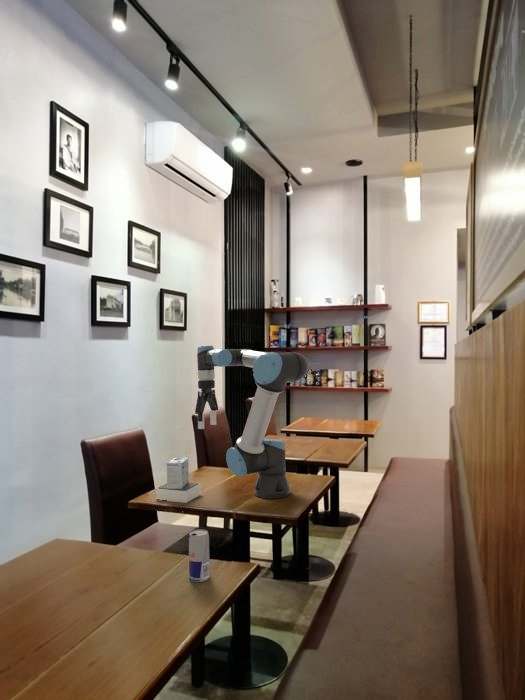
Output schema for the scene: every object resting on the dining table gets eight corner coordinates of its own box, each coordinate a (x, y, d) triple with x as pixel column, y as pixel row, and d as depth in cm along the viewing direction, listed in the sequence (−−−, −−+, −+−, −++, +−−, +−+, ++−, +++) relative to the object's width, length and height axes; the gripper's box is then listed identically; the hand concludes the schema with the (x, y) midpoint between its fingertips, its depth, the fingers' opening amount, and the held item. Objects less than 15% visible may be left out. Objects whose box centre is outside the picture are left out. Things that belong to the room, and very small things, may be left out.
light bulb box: (174, 482, 215) (173, 457, 216) (189, 482, 215) (188, 457, 215) (166, 488, 205) (166, 462, 205) (182, 489, 204) (182, 462, 204)
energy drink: (187, 576, 134) (186, 531, 134) (206, 572, 136) (205, 528, 136) (192, 584, 129) (191, 537, 129) (212, 580, 131) (211, 534, 131)
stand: (200, 494, 213) (200, 483, 213) (186, 502, 202) (186, 490, 202) (171, 492, 218) (171, 480, 218) (156, 499, 207) (156, 487, 207)
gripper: (209, 378, 240) (210, 423, 239) (186, 381, 216) (187, 430, 215) (224, 378, 237) (225, 423, 237) (202, 380, 214) (203, 430, 213)
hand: (207, 426), depth 226 cm, fingers open, 13 cm apart
